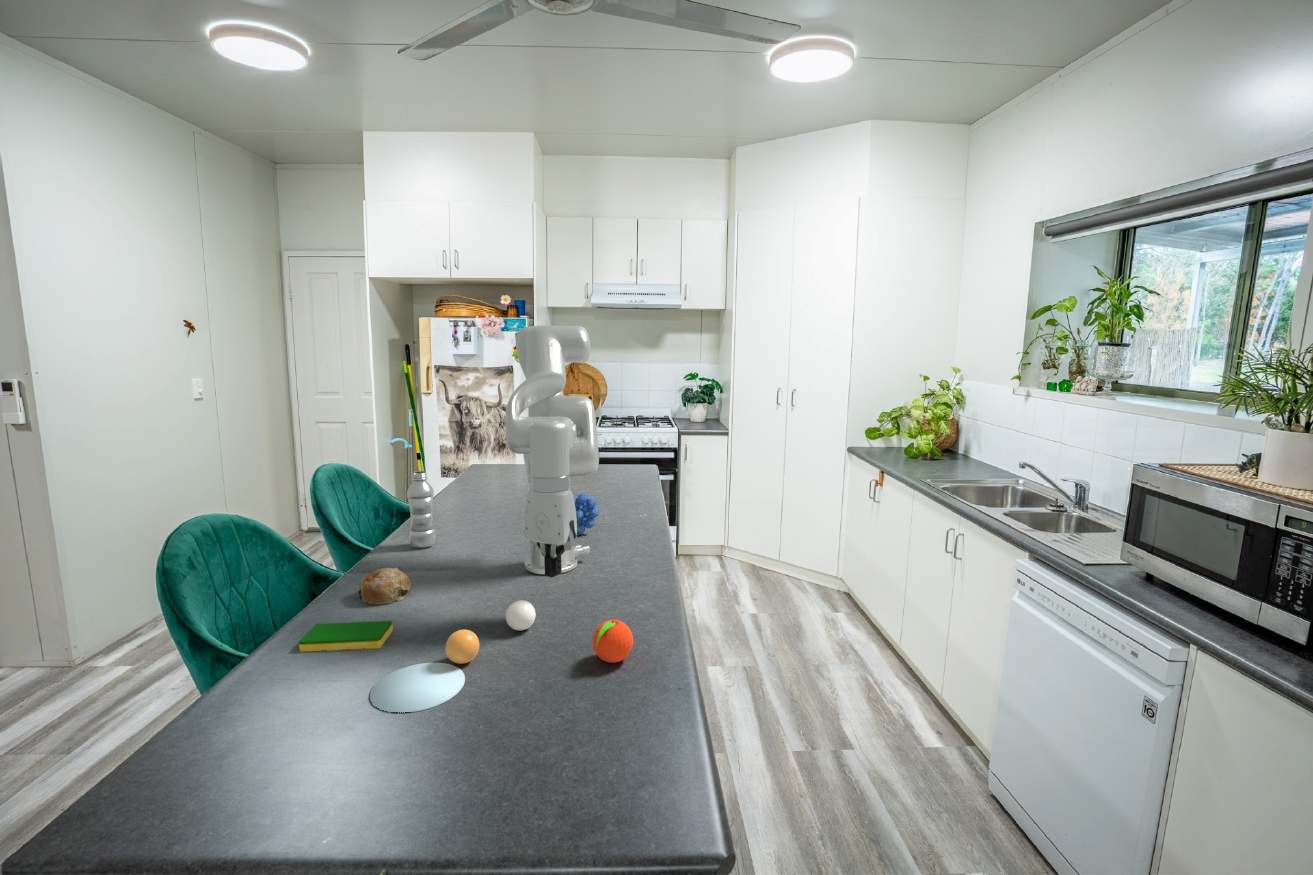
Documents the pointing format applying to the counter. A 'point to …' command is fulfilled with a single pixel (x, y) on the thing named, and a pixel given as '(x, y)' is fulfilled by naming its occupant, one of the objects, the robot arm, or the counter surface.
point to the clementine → (612, 641)
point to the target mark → (417, 687)
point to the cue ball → (520, 615)
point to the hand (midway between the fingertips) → (553, 574)
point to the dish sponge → (346, 636)
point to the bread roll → (384, 586)
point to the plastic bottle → (421, 511)
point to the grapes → (585, 512)
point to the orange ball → (462, 646)
